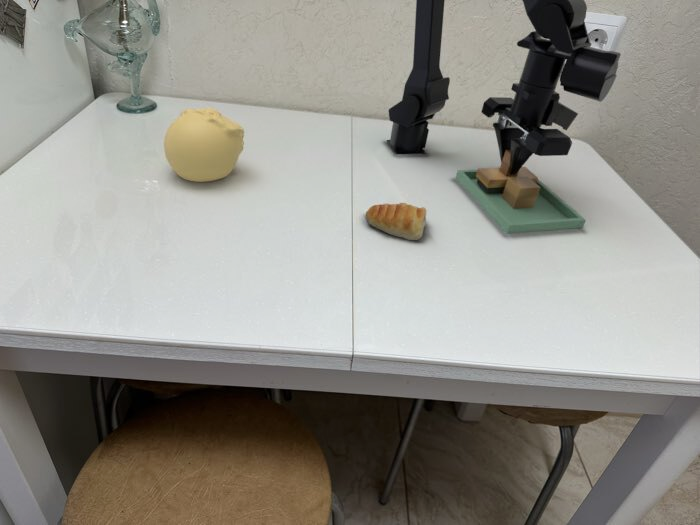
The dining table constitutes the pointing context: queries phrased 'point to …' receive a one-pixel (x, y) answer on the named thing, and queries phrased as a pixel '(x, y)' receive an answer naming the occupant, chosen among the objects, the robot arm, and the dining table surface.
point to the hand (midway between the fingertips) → (508, 170)
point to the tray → (541, 217)
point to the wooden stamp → (500, 175)
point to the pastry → (398, 219)
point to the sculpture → (203, 145)
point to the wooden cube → (520, 192)
